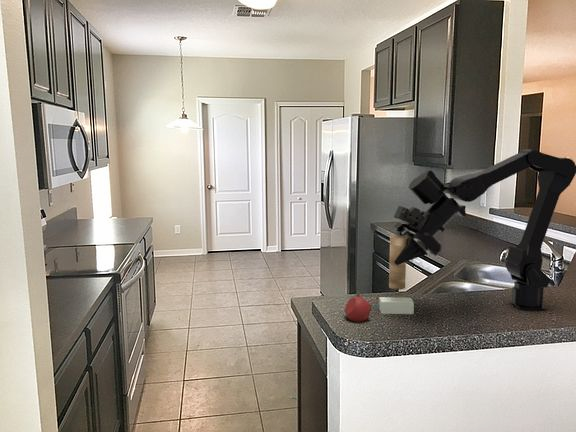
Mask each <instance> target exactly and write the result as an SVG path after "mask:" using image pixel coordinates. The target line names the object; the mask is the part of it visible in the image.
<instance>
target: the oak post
mask: <svg viewBox="0 0 576 432" xmlns="http://www.w3.org/2000/svg"><path fill="white" fill-rule="evenodd" d="M406 241H407V236H404V235H397V234H393V235H391V234H390V236H389V256H390V260H389V263H388V264H389V270H388V273H389V274H388V278H389V279H388V287H389V288H390V289H392V290H404V289H406V279H407V278H406V276H407V275H406V273H407V269H406V267H407V262H404V263H402V264H399V265H396V264H395V263H394V261H395V260H396V258H397V257H398V256H399V254H400V253H401V252H402V250H403V249H404V248H405V246H406Z"/></svg>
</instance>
